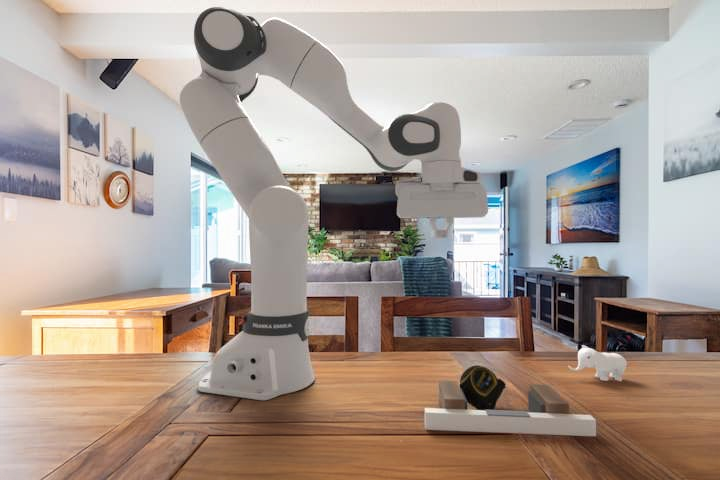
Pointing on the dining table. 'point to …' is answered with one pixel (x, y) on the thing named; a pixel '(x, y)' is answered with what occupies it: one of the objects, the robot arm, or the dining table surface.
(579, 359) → the elephant figurine
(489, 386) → the tape measure
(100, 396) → the dining table surface
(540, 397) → the rail
